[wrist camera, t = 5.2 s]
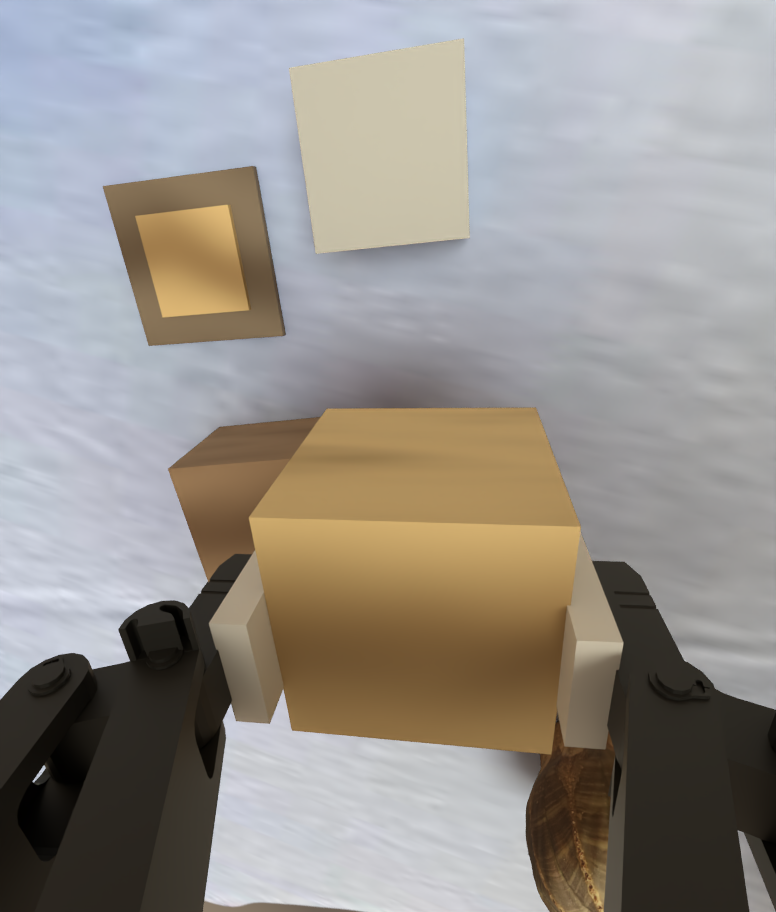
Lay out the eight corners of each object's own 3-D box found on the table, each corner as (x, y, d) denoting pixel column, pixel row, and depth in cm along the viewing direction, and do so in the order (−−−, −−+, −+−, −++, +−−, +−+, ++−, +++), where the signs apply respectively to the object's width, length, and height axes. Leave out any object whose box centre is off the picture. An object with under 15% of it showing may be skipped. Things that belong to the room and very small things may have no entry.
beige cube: (468, 235, 24) (469, 238, 19) (347, 248, 25) (315, 253, 20) (464, 85, 22) (463, 38, 16) (330, 106, 23) (289, 67, 17)
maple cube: (522, 579, 16) (551, 754, 11) (345, 571, 17) (292, 730, 12) (535, 407, 14) (580, 526, 9) (326, 408, 15) (248, 517, 9)
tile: (285, 334, 27) (281, 336, 27) (152, 344, 29) (145, 346, 28) (255, 167, 24) (250, 165, 23) (108, 187, 25) (98, 185, 25)
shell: (612, 663, 34) (682, 870, 23) (704, 755, 36) (807, 982, 25) (486, 726, 38) (495, 926, 27) (576, 804, 40) (617, 1018, 29)
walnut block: (369, 530, 32) (350, 592, 27) (254, 536, 34) (213, 595, 28) (346, 413, 29) (320, 456, 24) (220, 426, 30) (167, 468, 25)
